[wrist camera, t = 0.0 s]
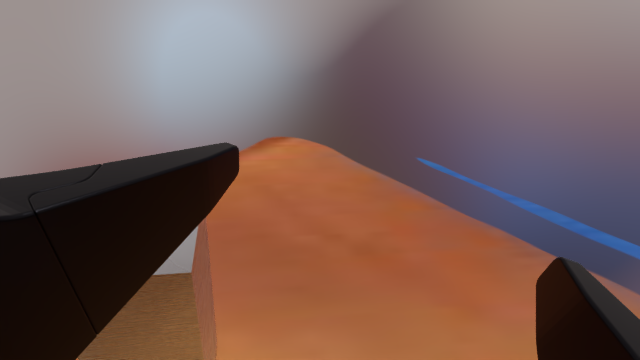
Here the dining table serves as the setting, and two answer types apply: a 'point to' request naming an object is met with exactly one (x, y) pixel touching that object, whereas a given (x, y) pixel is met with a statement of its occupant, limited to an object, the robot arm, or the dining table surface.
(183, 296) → the grey metal square bar
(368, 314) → the dining table surface
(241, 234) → the dining table surface
